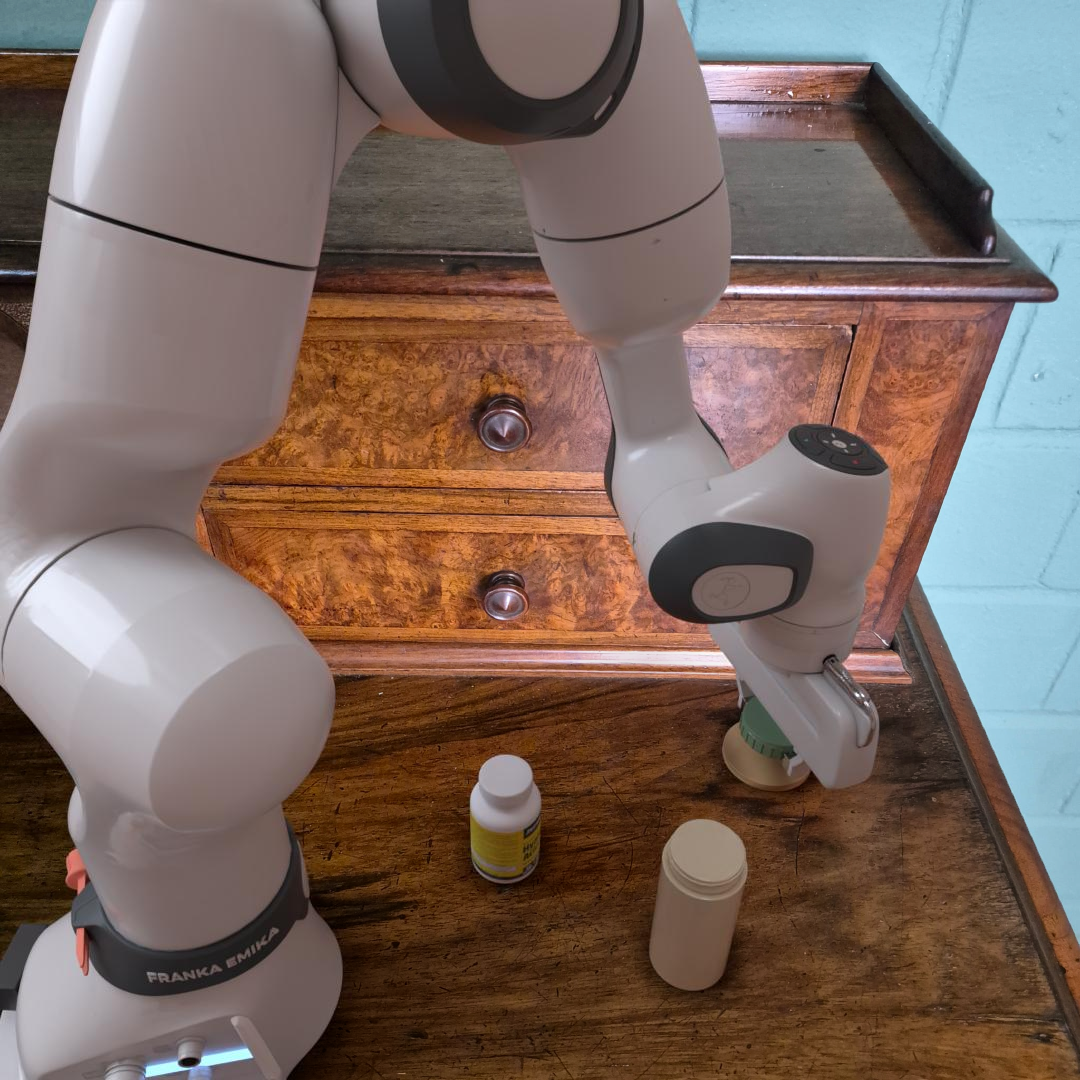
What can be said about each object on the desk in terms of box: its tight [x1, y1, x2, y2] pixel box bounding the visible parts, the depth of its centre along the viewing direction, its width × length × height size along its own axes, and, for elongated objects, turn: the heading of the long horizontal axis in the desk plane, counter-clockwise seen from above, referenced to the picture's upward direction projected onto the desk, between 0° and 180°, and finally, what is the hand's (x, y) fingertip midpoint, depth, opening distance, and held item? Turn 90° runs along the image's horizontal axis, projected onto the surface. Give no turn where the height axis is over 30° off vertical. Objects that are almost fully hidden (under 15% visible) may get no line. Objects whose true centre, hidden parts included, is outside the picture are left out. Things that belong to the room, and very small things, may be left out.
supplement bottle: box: [469, 754, 542, 884], centre depth 72 cm, size 5×5×10 cm
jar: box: [648, 818, 749, 992], centre depth 65 cm, size 6×6×12 cm
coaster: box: [721, 722, 812, 792], centre depth 84 cm, size 8×8×1 cm
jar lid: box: [738, 697, 795, 760], centre depth 81 cm, size 6×6×2 cm
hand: (770, 739), depth 82 cm, fingers closed on jar lid, 6 cm apart
